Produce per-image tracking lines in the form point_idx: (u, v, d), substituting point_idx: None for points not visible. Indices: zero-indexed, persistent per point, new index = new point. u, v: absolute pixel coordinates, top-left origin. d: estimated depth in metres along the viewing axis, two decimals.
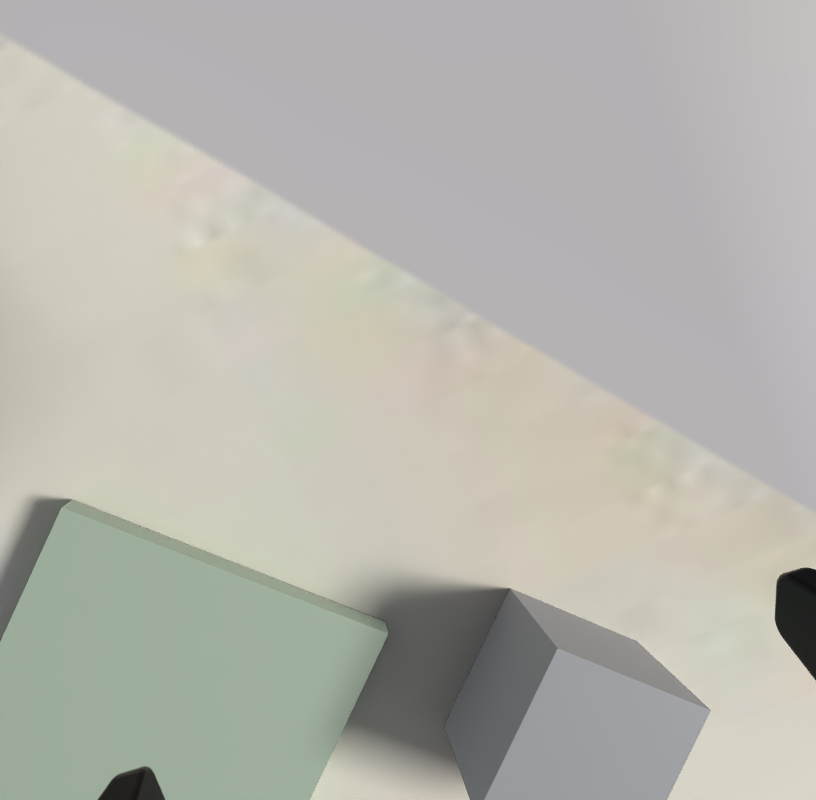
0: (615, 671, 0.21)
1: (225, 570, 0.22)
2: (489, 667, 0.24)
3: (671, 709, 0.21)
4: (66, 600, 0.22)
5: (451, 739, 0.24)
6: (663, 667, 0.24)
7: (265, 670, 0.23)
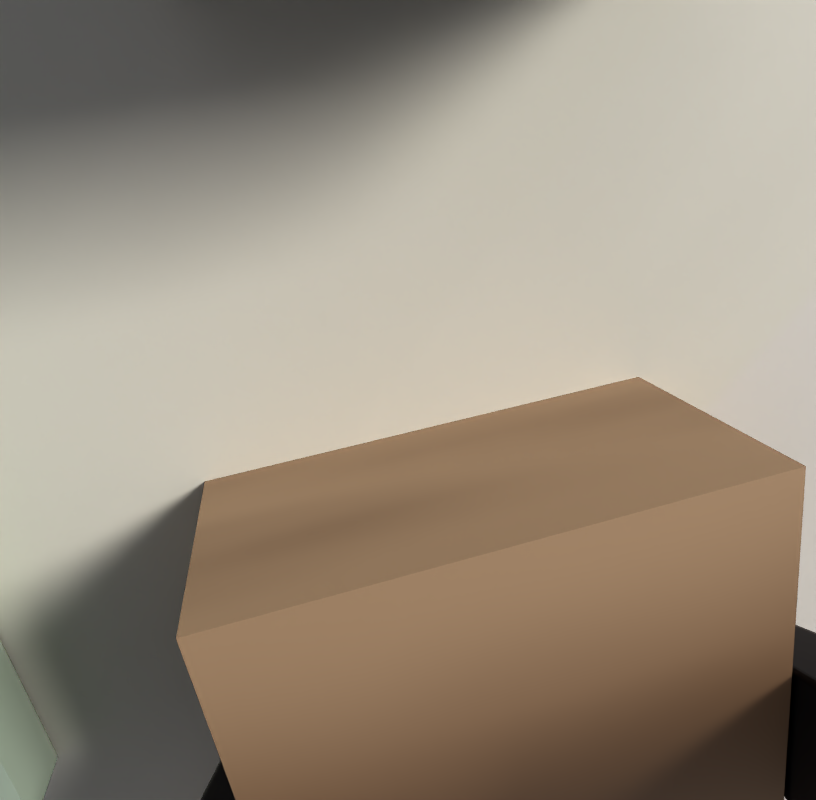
0: None
1: None
2: None
3: None
4: None
5: None
6: None
7: None
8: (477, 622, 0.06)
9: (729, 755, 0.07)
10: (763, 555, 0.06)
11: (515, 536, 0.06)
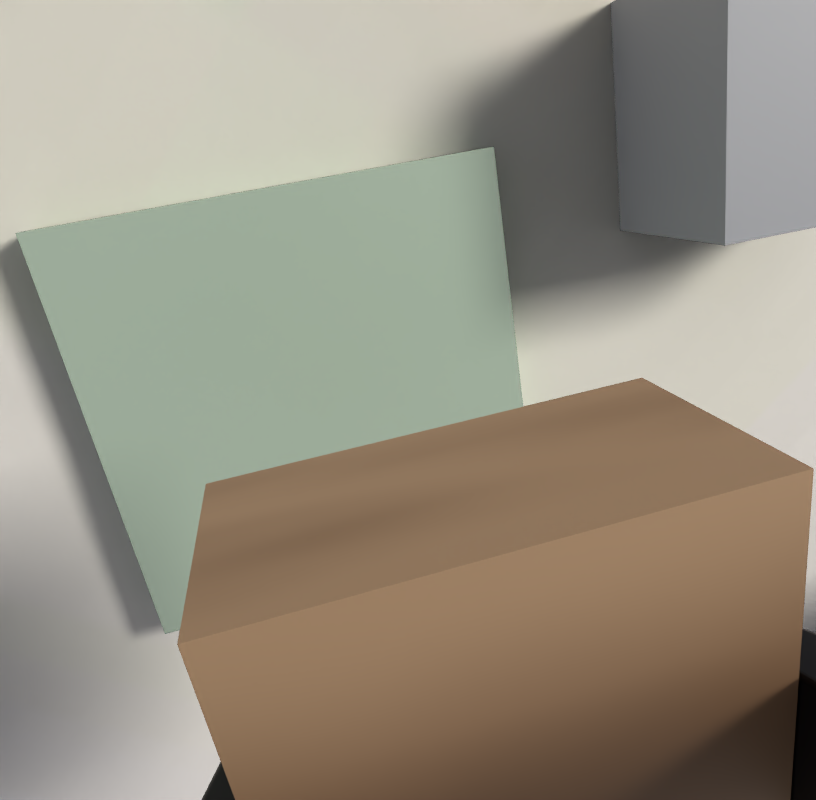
0: None
1: (254, 190, 0.16)
2: (639, 108, 0.17)
3: None
4: (113, 336, 0.17)
5: (638, 229, 0.18)
6: None
7: (382, 279, 0.17)
8: (482, 627, 0.06)
9: (735, 760, 0.07)
10: (770, 559, 0.06)
11: (521, 540, 0.06)
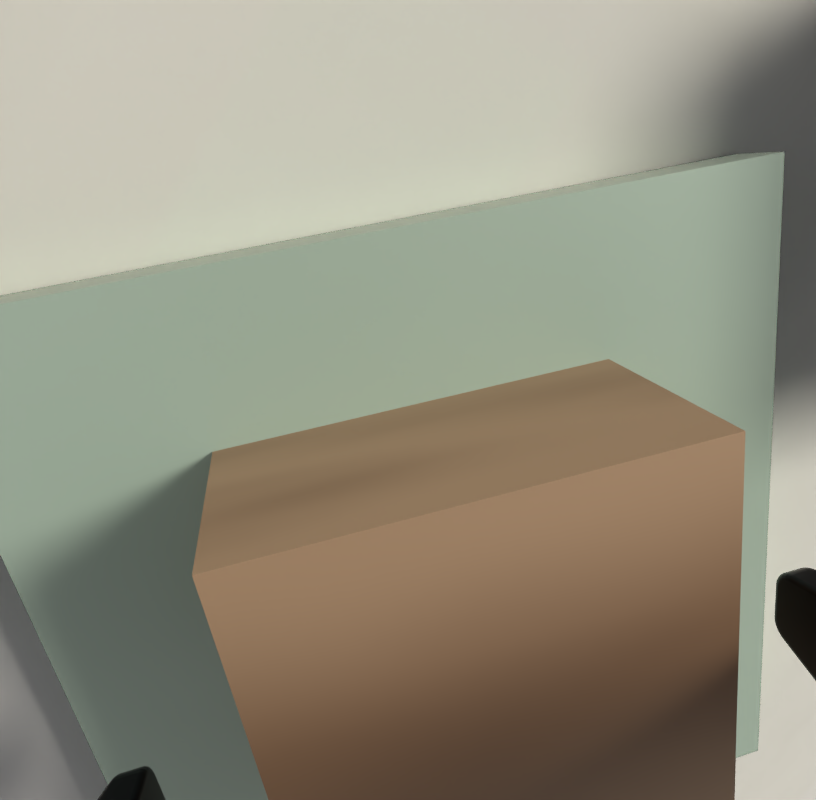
0: None
1: (362, 233, 0.09)
2: None
3: None
4: (93, 505, 0.09)
5: None
6: None
7: None
8: (455, 567, 0.07)
9: (684, 695, 0.08)
10: (710, 511, 0.07)
11: (489, 491, 0.07)
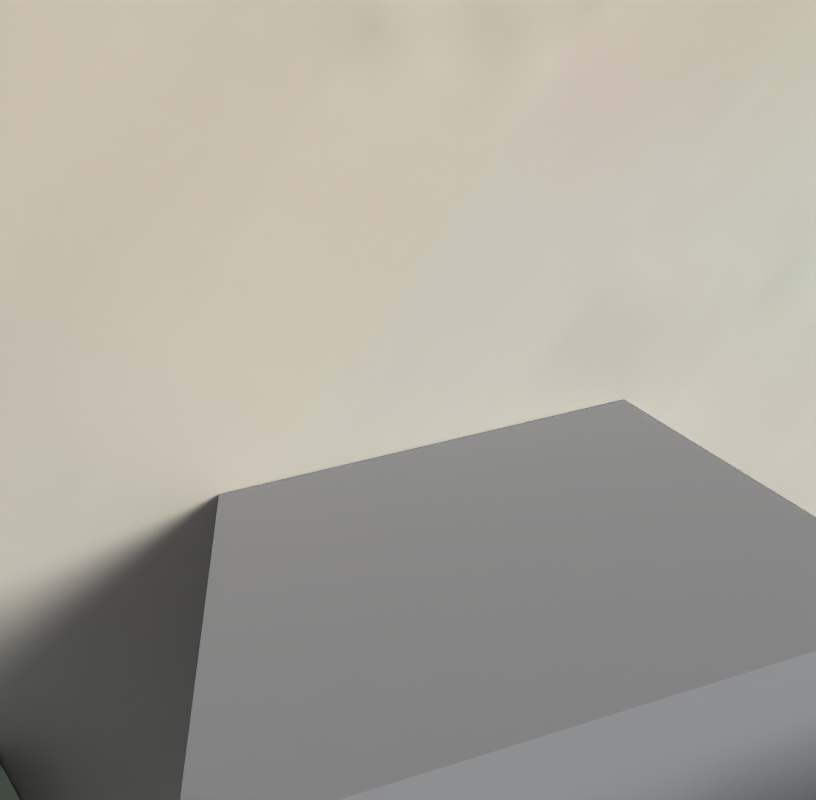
0: (497, 745, 0.04)
1: None
2: None
3: (802, 700, 0.05)
4: None
5: None
6: (716, 464, 0.08)
7: None
8: None
9: None
10: None
11: None
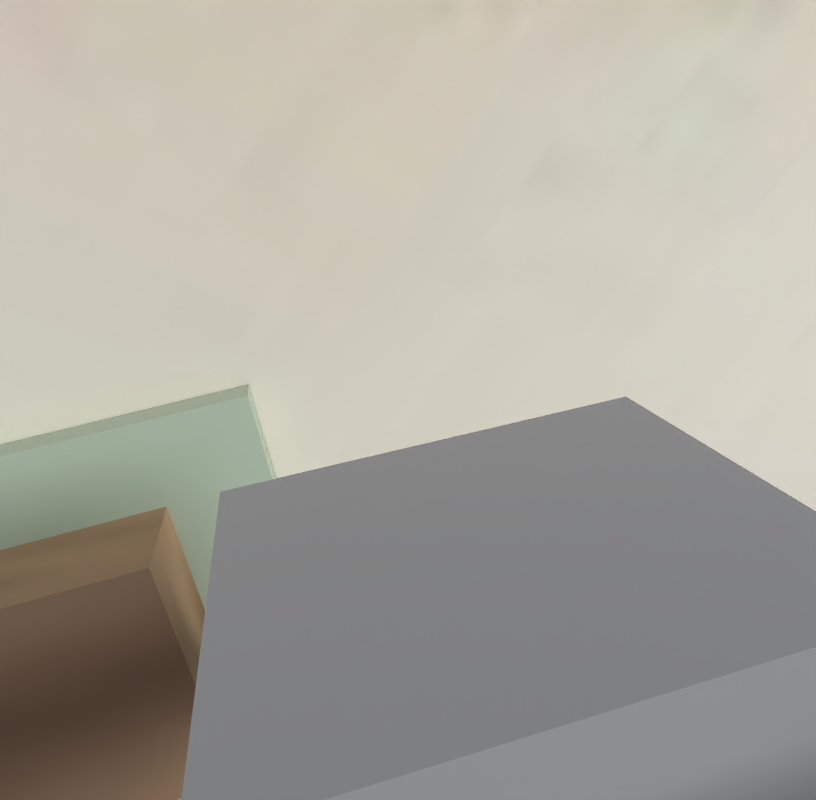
0: (500, 740, 0.04)
1: (1, 455, 0.16)
2: None
3: (806, 695, 0.05)
4: None
5: None
6: (719, 460, 0.08)
7: None
8: (5, 635, 0.15)
9: (164, 693, 0.16)
10: (143, 604, 0.15)
11: (18, 600, 0.15)
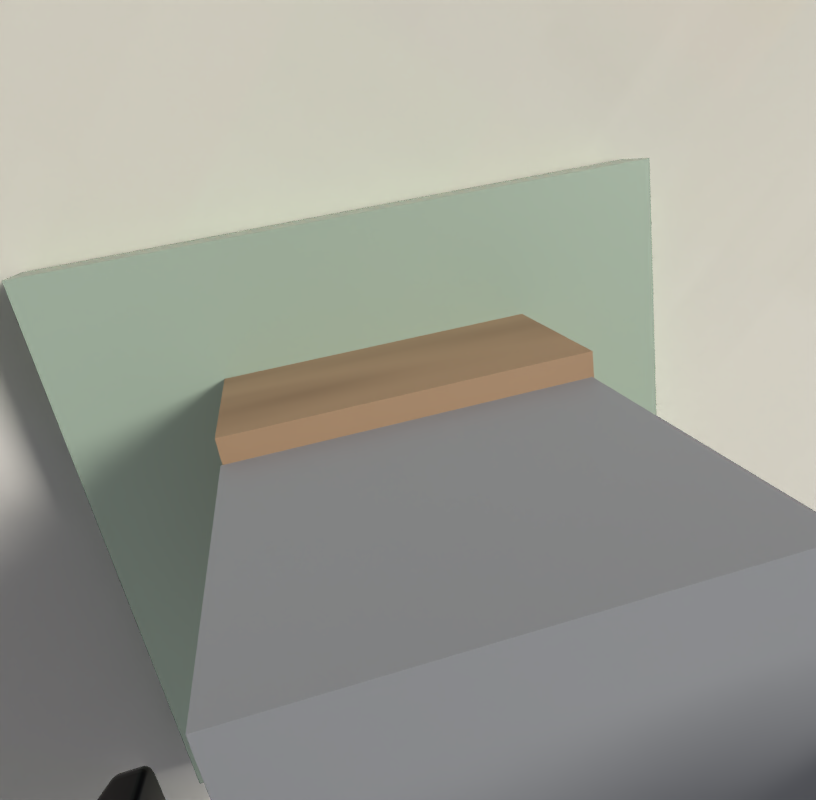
0: (457, 650, 0.05)
1: (333, 218, 0.12)
2: None
3: (721, 618, 0.06)
4: (137, 417, 0.12)
5: None
6: (668, 429, 0.08)
7: None
8: None
9: None
10: None
11: (414, 389, 0.10)
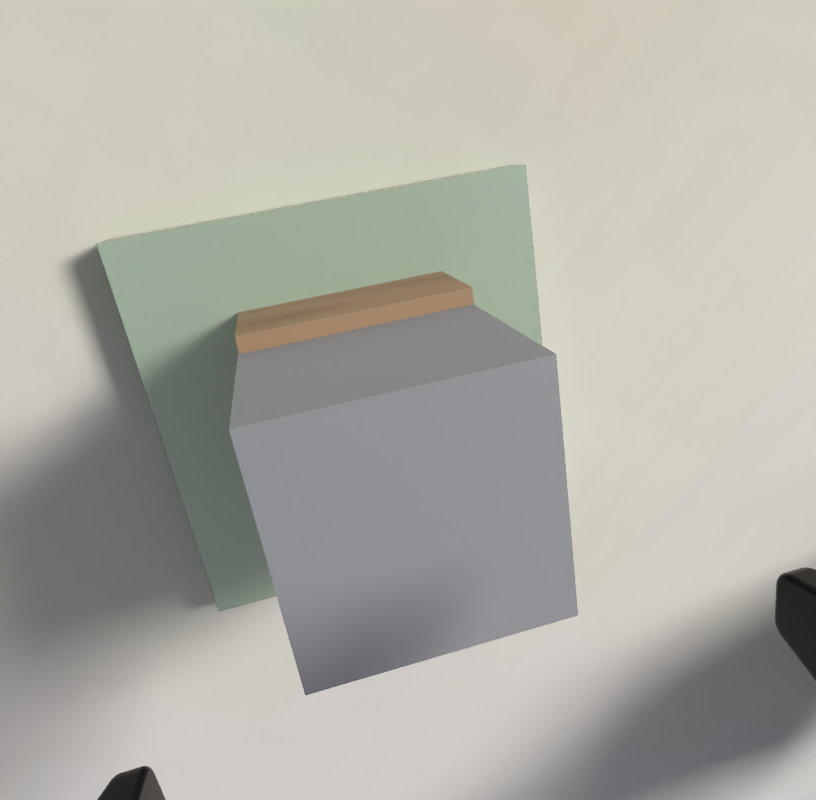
0: (355, 399, 0.11)
1: (311, 204, 0.18)
2: None
3: (489, 394, 0.12)
4: (180, 337, 0.18)
5: None
6: (499, 323, 0.14)
7: None
8: None
9: None
10: None
11: (358, 309, 0.16)
